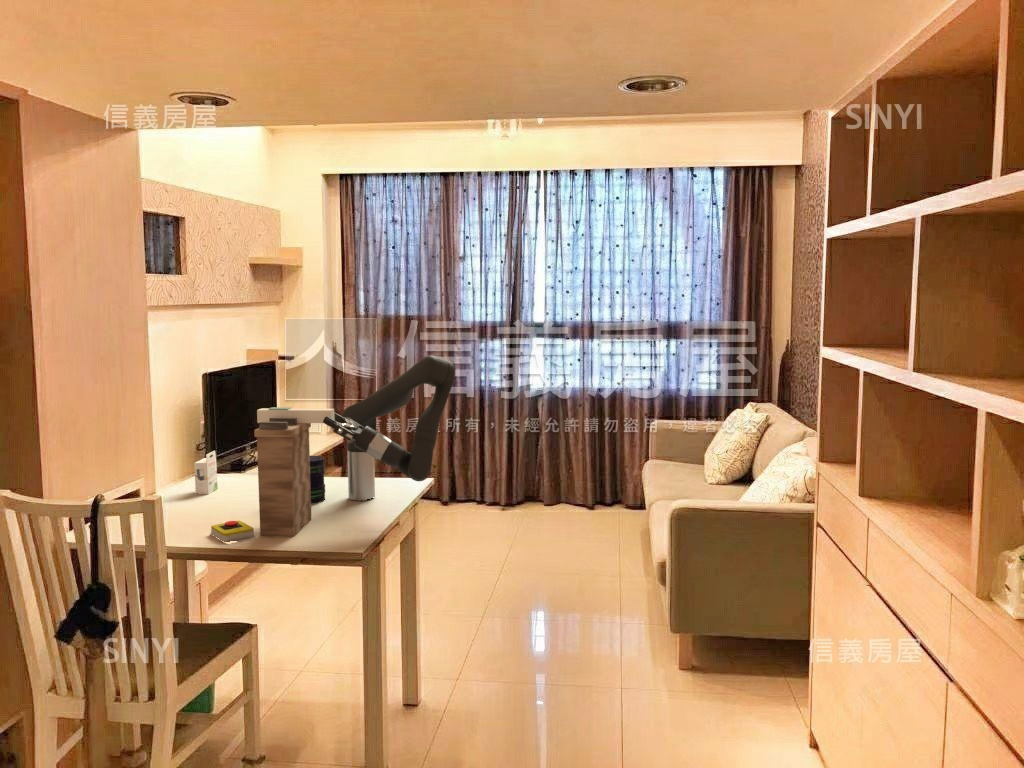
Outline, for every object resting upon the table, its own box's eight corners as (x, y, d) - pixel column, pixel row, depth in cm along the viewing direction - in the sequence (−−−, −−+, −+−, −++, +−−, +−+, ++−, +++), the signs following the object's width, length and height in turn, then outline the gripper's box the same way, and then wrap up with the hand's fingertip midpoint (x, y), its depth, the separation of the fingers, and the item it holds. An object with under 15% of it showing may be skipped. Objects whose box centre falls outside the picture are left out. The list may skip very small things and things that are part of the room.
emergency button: (238, 515, 242) (258, 525, 231) (238, 529, 243) (258, 540, 232) (207, 520, 236) (226, 531, 225) (208, 535, 237) (227, 546, 226)
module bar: (262, 421, 247) (261, 407, 247) (334, 421, 246) (334, 407, 246) (257, 422, 243) (256, 408, 243) (331, 423, 242) (330, 409, 242)
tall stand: (279, 519, 252) (276, 414, 248) (313, 519, 251) (310, 414, 248) (258, 536, 233) (254, 423, 229) (294, 537, 233) (291, 423, 229)
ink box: (204, 489, 293) (203, 449, 292) (218, 489, 293) (216, 449, 291) (194, 494, 284) (193, 454, 283) (208, 494, 284) (206, 454, 283)
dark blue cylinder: (293, 504, 271) (292, 461, 270) (300, 497, 281) (298, 455, 279) (322, 503, 271) (321, 461, 270) (328, 496, 281) (327, 455, 280)
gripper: (383, 429, 251) (339, 403, 251) (374, 436, 237) (327, 409, 237) (372, 449, 252) (328, 423, 252) (362, 457, 238) (315, 431, 238)
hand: (328, 416), depth 244 cm, fingers open, 8 cm apart
